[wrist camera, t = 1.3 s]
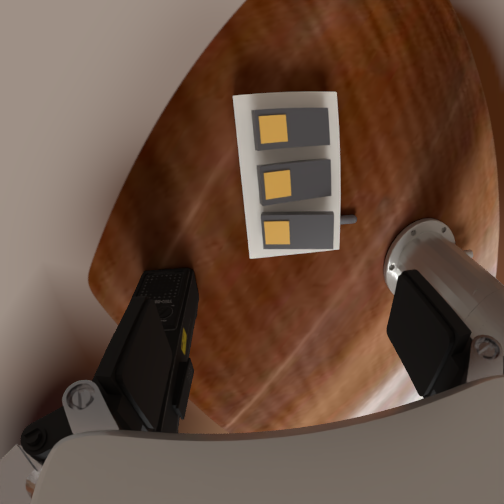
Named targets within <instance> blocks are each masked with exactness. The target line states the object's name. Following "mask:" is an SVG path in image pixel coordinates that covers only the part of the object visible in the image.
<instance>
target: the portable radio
mask: <svg viewBox="0 0 504 504" xmlns="http://www.w3.org/2000/svg"><path fill="white" fill-rule="evenodd" d="M139 296H148V297H149V298H150V300H154V302H155V304H156V307H157V310H158V313H159V316H160V319H161V322H162V325H163V328H164V331H165V334H166V337H167V339H168V342H169V345H170V348H171V350H172V362H171V366H170V370H169V374H168V379H167V383H166V388H165V392H164V397H163V401H162V406H161V411H160V416H159V420H158V425H157V428H155V429H153V430H152V432H161V433H178V426H179V418H180V417H181V419H184V416H185V412H186V407H187V402H188V397H189V392H190V388H191V383H192V378H193V374H194V369H193V366H192V363H191V359H190V358H189V353H190V347H191V341H192V335H193V329H194V324H195V319H196V317H197V309H198V301H199V295H198V290H197V285H196V280H195V275H194V271H193V270H192V269H189V268H179V269H163V270H151V271H144V273H143V274H142V276H141V278H140V280H139V283H138V285H137V287H136V290H135V292H134V294H133V296H132V298H133V297H139ZM131 300H132V299H131ZM130 302H131V301H130ZM129 304H130V303H129ZM128 306H129V305H128ZM127 308H128V307H127Z"/></svg>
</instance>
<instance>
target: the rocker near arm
mask: <svg viewBox="0 0 504 504" xmlns="http://www.w3.org/2000/svg"><path fill="white" fill-rule="evenodd" d="M261 226H262V238H263V249H333V240H334V213H333V211H294V212H262V214H261Z"/></svg>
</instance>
